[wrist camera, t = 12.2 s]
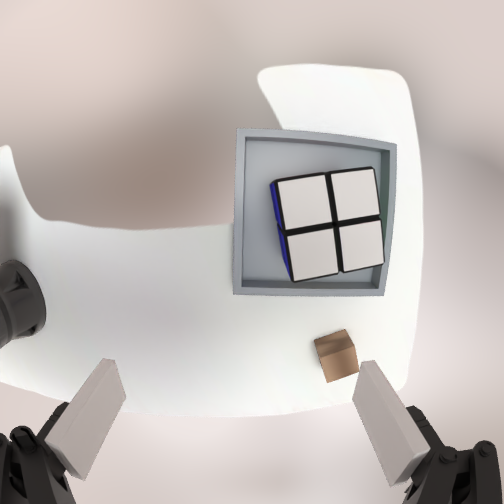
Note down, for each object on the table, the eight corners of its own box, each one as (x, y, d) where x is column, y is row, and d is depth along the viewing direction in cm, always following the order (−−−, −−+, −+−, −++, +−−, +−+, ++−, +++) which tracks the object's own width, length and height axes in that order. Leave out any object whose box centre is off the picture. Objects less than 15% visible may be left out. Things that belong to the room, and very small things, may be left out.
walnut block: (320, 364, 41) (327, 383, 36) (313, 339, 40) (320, 358, 35) (350, 353, 40) (359, 371, 35) (344, 328, 39) (354, 345, 34)
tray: (235, 284, 38) (233, 294, 34) (238, 134, 33) (236, 128, 30) (373, 286, 38) (383, 295, 34) (384, 147, 33) (396, 143, 30)
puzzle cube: (268, 182, 34) (273, 179, 24) (344, 170, 33) (375, 164, 24) (282, 259, 36) (291, 285, 26) (355, 245, 36) (386, 265, 26)
